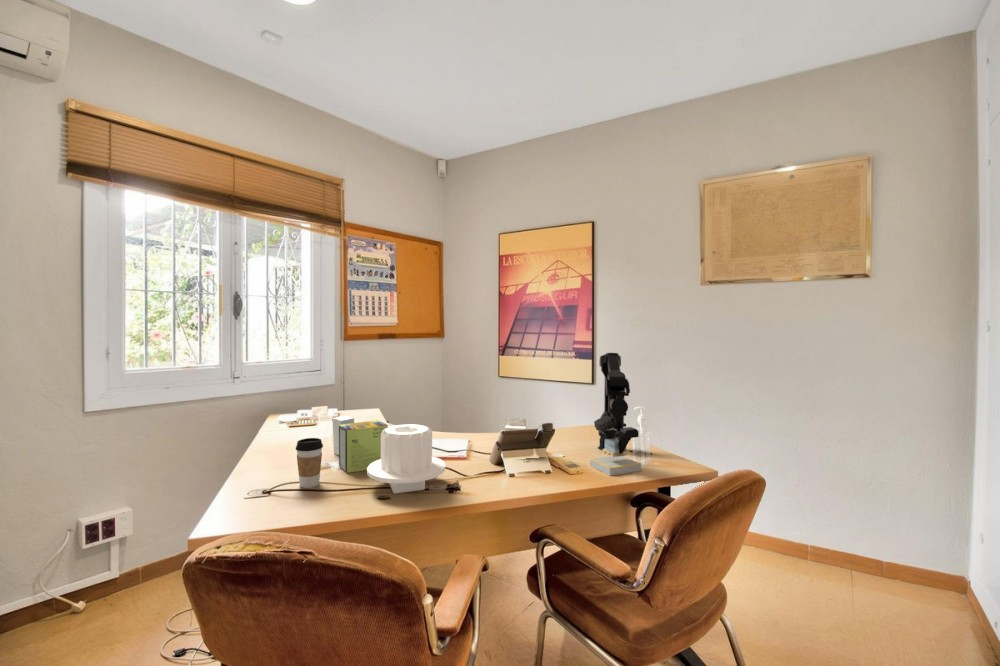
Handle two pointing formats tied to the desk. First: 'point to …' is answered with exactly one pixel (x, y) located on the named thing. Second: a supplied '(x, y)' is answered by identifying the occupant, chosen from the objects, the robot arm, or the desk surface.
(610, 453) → the pallet
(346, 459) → the protein box
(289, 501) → the desk surface
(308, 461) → the coffee cup
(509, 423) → the ink cartridge box
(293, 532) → the desk surface
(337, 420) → the skincare box
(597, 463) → the block
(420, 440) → the flanged gear
